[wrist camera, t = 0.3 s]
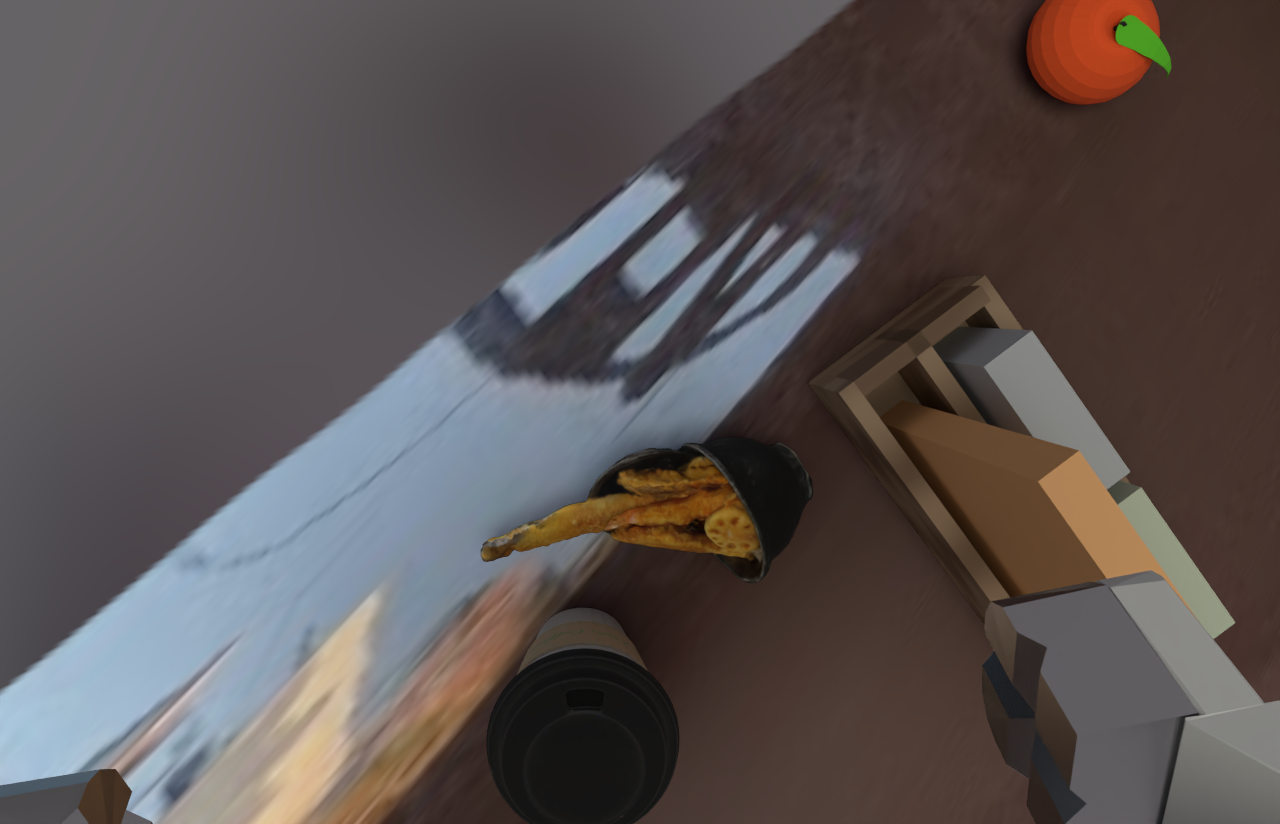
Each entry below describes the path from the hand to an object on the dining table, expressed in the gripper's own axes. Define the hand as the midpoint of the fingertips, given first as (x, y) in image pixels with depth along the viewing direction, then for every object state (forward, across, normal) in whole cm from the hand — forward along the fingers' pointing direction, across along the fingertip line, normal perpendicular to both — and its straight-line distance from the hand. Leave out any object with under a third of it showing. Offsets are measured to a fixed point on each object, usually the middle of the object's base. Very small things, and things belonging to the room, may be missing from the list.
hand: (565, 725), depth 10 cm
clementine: (+54, +31, -13) cm, 64 cm away
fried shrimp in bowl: (+44, +2, -32) cm, 54 cm away
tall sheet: (+41, +20, -35) cm, 57 cm away
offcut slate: (+44, +22, -29) cm, 57 cm away
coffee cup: (+40, -4, -40) cm, 56 cm away
